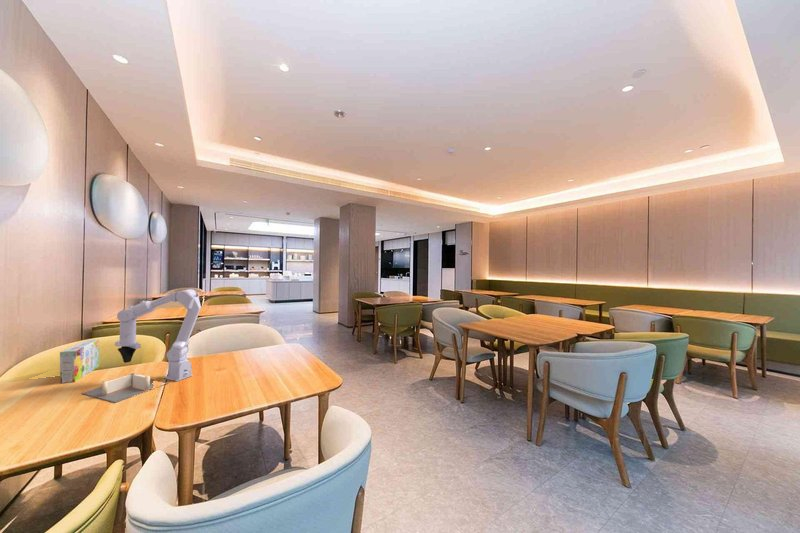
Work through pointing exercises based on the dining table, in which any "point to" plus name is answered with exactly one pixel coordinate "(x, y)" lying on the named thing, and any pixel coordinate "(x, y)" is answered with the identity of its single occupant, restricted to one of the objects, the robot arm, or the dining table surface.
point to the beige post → (117, 384)
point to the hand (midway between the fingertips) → (127, 362)
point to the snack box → (79, 360)
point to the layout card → (117, 393)
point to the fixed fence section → (141, 381)
